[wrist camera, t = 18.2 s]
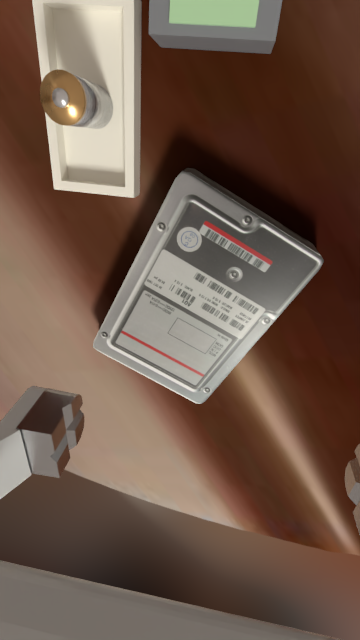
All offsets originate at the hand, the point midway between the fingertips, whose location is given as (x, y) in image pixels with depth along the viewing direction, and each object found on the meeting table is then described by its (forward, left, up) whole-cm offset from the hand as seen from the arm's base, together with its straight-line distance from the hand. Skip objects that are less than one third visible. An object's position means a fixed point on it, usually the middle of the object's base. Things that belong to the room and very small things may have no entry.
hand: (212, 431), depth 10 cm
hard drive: (+3, +12, -34) cm, 36 cm away
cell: (+16, -9, -32) cm, 37 cm away
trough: (+16, -9, -33) cm, 38 cm away
